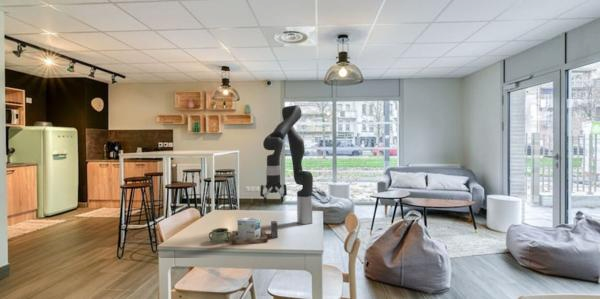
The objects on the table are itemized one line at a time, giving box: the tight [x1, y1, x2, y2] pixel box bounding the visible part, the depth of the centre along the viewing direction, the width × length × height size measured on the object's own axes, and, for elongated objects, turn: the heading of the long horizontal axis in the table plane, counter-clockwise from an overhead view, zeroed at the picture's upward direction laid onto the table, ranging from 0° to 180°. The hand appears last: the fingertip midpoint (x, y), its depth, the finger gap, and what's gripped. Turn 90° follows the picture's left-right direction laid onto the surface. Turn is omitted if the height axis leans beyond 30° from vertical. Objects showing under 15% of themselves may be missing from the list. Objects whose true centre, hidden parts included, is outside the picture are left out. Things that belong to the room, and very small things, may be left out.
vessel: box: [208, 227, 232, 245], centre depth 163 cm, size 12×9×6 cm
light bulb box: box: [237, 217, 262, 239], centre depth 168 cm, size 11×7×11 cm, turn 71°
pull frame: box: [231, 220, 279, 246], centre depth 169 cm, size 24×18×8 cm
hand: (273, 203), depth 171 cm, fingers open, 8 cm apart
